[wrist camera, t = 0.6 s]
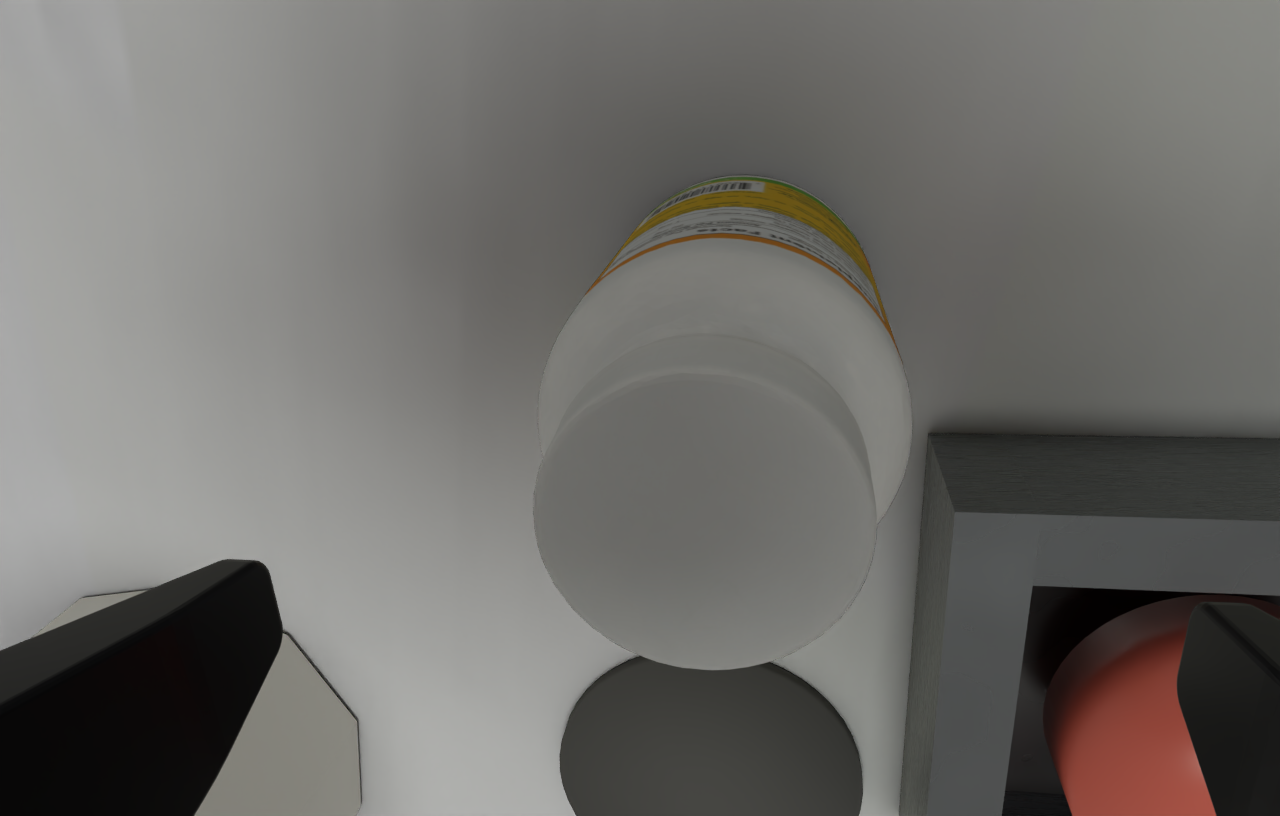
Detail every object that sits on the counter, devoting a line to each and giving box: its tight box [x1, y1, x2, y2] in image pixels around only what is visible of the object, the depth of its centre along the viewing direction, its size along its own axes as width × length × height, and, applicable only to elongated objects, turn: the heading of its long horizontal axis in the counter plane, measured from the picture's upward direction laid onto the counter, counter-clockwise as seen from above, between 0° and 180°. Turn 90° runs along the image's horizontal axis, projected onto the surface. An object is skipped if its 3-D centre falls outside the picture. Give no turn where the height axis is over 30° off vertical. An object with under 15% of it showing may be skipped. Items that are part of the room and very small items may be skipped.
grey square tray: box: [899, 434, 1280, 816], centre depth 19 cm, size 11×11×4 cm
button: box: [1043, 595, 1280, 816], centre depth 18 cm, size 6×6×2 cm
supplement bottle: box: [533, 175, 912, 670], centre depth 15 cm, size 5×5×10 cm
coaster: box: [560, 656, 863, 816], centre depth 24 cm, size 8×8×1 cm
